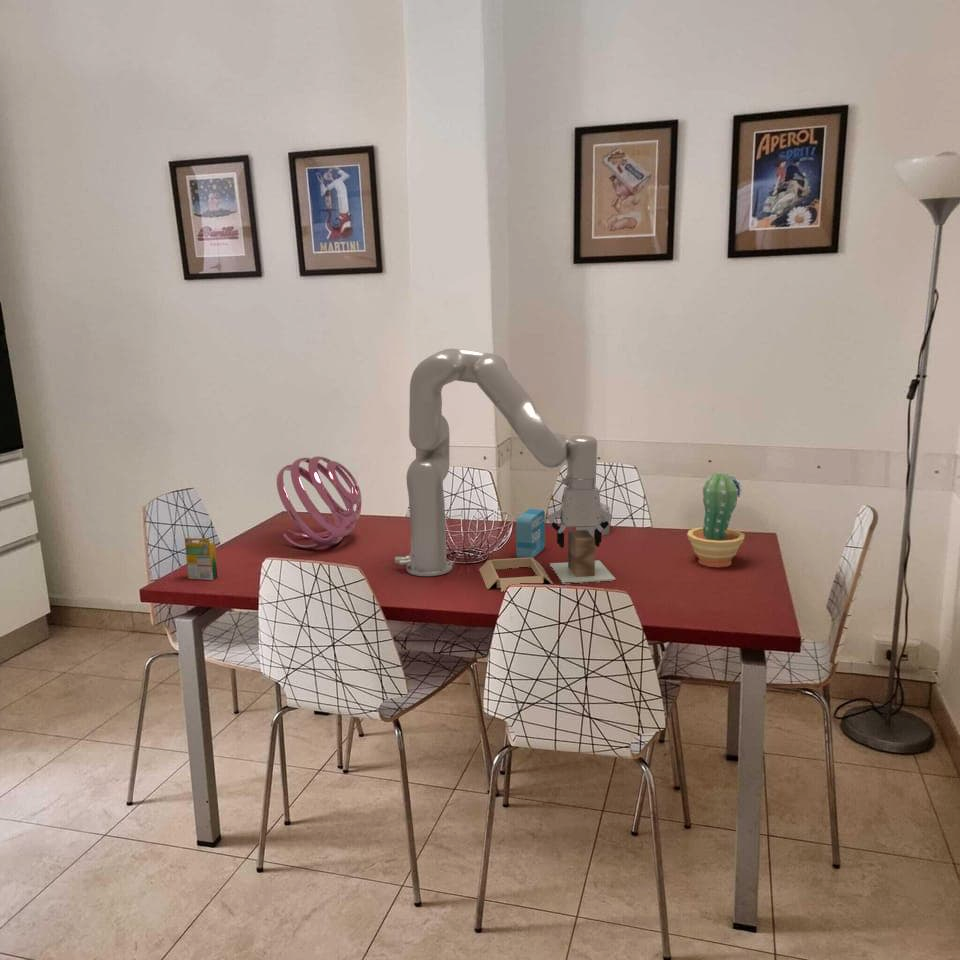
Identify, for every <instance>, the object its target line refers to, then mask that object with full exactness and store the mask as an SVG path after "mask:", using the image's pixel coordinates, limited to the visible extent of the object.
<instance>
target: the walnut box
mask: <svg viewBox="0 0 960 960" xmlns="http://www.w3.org/2000/svg"><path fill="white" fill-rule="evenodd" d="M595 561H596V545H595V539H594V537H592V535H591V534H590V533H589V531H588V530H576V529H575V530H568V531H567V562H568V567H569V569H571V571H572V572H573V573H574V575H575V576H576V577H585V576H595Z"/></svg>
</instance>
